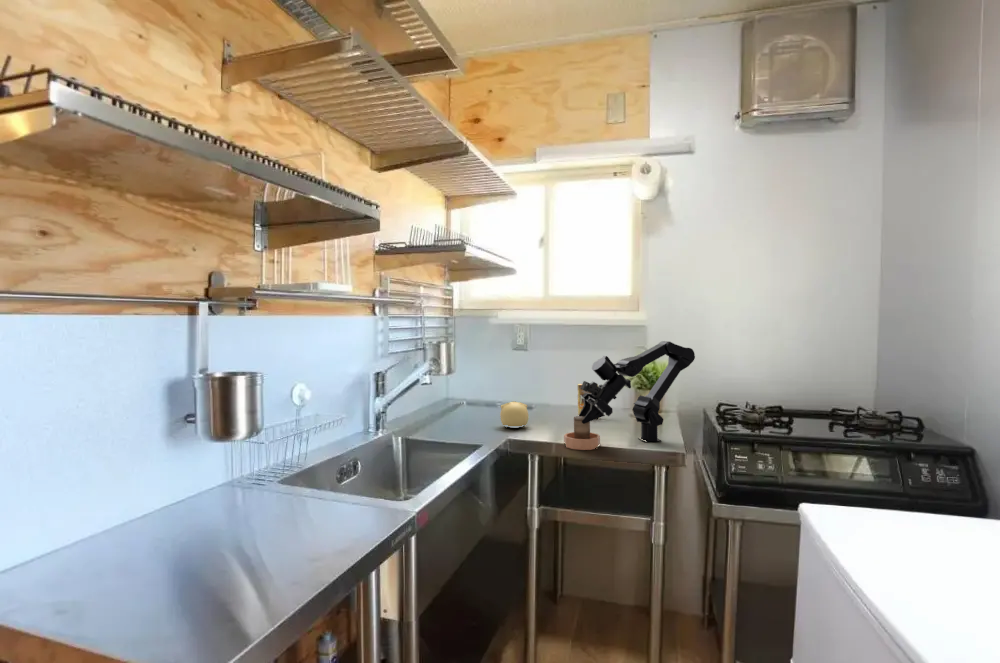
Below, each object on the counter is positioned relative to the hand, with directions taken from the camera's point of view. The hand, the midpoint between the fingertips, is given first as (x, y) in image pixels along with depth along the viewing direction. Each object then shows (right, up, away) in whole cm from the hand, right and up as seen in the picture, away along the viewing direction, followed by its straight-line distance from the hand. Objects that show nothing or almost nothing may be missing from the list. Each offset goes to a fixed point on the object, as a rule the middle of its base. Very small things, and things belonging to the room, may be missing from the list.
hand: (580, 421), depth 180 cm
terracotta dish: (+1, -8, 0) cm, 8 cm away
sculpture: (-22, -8, +32) cm, 40 cm away
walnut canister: (+1, -7, 0) cm, 7 cm away
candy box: (+11, -8, +51) cm, 52 cm away
